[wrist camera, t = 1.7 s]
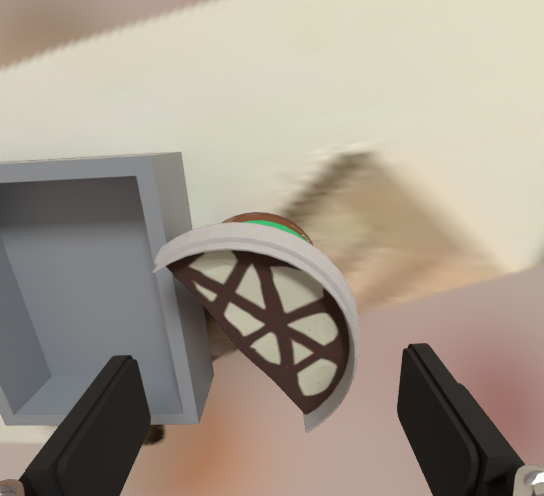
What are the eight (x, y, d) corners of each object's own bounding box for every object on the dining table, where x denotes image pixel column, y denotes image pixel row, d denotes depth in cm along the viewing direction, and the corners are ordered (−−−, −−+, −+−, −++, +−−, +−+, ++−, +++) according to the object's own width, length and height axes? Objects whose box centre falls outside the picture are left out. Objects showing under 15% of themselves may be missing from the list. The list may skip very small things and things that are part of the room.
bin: (180, 151, 21) (150, 155, 16) (213, 374, 27) (198, 424, 23) (-26, 163, 22) (-112, 170, 17) (52, 377, 28) (5, 425, 23)
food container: (366, 287, 24) (419, 384, 14) (302, 327, 25) (312, 439, 16) (269, 157, 21) (257, 171, 11) (203, 210, 22) (143, 262, 13)
